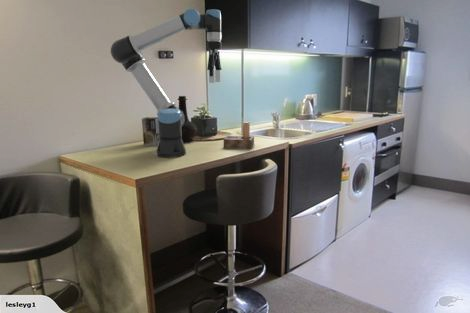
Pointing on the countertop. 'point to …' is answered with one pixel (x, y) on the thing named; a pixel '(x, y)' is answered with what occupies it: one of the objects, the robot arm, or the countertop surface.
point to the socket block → (238, 142)
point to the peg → (246, 130)
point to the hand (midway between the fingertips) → (214, 82)
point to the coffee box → (150, 131)
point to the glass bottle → (186, 122)
